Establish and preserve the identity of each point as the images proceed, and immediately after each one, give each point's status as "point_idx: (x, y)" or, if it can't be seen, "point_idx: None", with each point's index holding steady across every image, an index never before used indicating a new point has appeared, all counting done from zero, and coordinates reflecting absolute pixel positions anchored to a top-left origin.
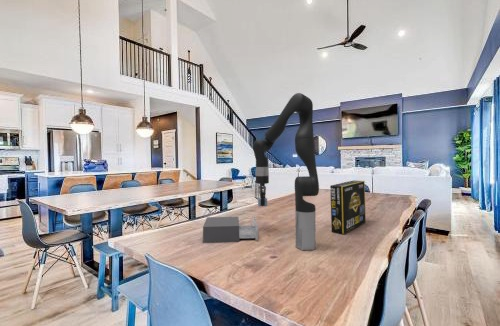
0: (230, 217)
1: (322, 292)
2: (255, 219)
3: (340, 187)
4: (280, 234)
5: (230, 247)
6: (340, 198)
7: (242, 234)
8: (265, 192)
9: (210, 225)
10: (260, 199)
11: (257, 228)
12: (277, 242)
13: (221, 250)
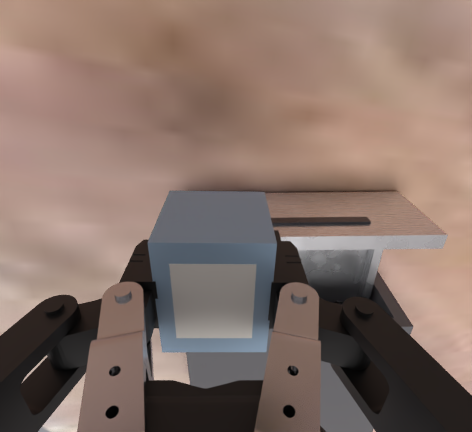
0: (207, 363)
1: None
2: None
3: None
4: (308, 25)
5: (432, 296)
6: None
7: (375, 275)
8: (320, 382)
9: (356, 419)
10: (268, 327)
11: (435, 226)
12: (459, 81)
13: (450, 321)
